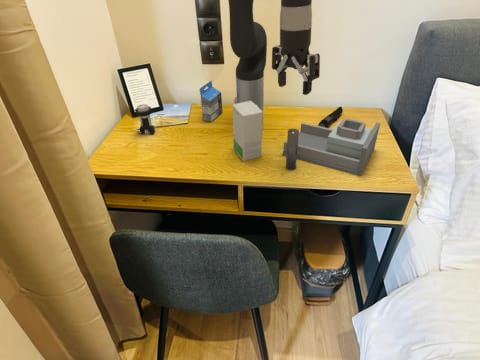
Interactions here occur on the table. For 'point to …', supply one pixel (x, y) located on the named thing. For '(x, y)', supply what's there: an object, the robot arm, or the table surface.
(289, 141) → the handle peg
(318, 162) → the bay
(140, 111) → the grey black upright piece
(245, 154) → the skincare box
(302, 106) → the table surface
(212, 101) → the label tape cartridge
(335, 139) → the square socket block
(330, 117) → the electric trimmer
